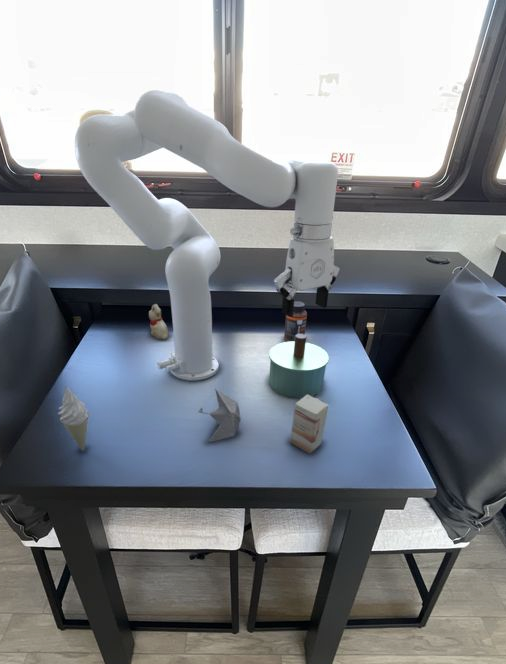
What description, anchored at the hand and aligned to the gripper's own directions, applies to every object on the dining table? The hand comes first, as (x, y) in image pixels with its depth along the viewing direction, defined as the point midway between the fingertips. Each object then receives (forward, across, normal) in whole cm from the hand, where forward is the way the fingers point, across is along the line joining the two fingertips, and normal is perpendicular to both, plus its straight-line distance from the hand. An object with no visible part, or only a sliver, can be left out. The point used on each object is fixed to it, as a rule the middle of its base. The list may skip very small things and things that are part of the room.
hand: (304, 310), depth 93 cm
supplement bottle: (+19, +14, +19) cm, 31 cm away
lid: (+12, 0, 0) cm, 12 cm away
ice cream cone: (+19, -52, +2) cm, 55 cm away
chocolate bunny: (+19, -19, +42) cm, 50 cm away
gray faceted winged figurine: (+19, -25, -5) cm, 32 cm away
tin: (+19, 0, 0) cm, 19 cm away
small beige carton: (+20, -13, -19) cm, 30 cm away
